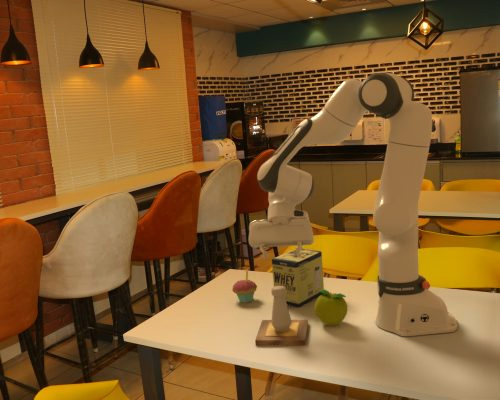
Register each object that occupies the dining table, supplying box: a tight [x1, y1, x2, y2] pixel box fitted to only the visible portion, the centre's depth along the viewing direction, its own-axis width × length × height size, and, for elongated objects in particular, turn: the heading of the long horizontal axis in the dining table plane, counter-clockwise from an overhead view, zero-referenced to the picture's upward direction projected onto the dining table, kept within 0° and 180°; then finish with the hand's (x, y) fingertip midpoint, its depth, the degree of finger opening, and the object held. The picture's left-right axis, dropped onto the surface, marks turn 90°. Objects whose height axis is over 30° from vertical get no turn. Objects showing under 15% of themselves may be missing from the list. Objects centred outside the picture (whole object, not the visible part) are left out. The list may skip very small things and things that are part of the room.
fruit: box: [314, 288, 348, 327], centre depth 153 cm, size 9×9×10 cm
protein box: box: [271, 247, 325, 309], centre depth 176 cm, size 10×16×16 cm
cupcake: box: [231, 267, 258, 303], centre depth 179 cm, size 9×8×12 cm
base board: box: [254, 318, 309, 346], centre depth 150 cm, size 14×14×2 cm
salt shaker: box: [270, 285, 292, 332], centre depth 148 cm, size 6×6×13 cm
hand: (280, 257), depth 156 cm, fingers open, 8 cm apart
